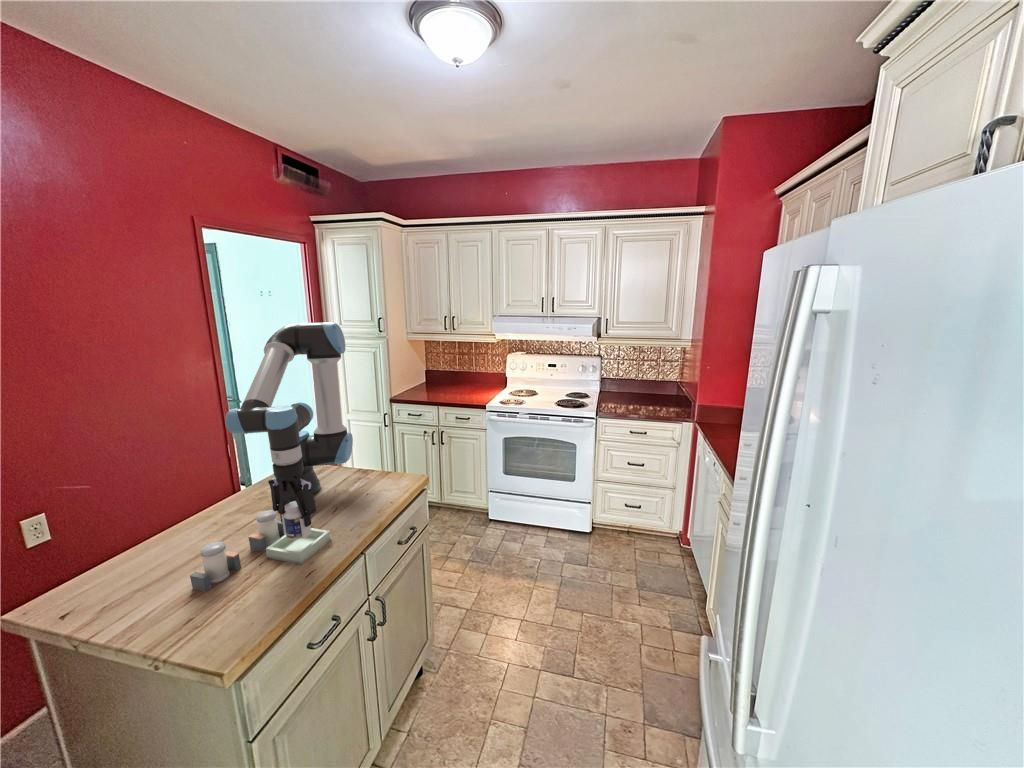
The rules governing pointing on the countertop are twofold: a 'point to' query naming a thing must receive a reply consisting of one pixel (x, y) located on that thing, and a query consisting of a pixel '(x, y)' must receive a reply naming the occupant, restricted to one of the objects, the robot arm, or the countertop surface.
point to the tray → (298, 547)
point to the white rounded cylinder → (215, 561)
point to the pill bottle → (292, 521)
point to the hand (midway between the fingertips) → (297, 533)
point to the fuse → (268, 526)
